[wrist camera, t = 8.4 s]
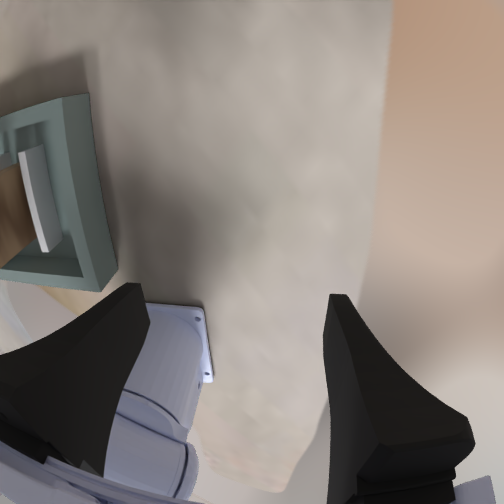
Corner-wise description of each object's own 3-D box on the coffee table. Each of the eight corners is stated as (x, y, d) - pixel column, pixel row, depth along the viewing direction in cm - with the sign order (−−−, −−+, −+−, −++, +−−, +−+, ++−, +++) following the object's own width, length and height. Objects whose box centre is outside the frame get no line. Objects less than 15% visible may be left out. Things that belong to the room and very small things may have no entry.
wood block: (47, 228, 23) (-10, 277, 16) (32, 229, 23) (-24, 275, 16) (32, 159, 20) (-37, 195, 13) (16, 162, 20) (-50, 197, 13)
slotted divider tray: (118, 269, 25) (100, 292, 22) (10, 261, 26) (-9, 278, 23) (89, 92, 18) (61, 97, 15) (-23, 128, 19) (-47, 137, 16)
